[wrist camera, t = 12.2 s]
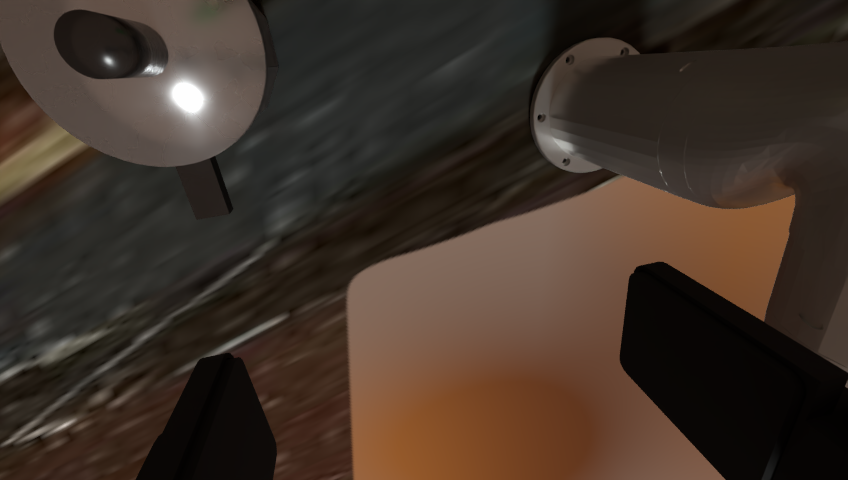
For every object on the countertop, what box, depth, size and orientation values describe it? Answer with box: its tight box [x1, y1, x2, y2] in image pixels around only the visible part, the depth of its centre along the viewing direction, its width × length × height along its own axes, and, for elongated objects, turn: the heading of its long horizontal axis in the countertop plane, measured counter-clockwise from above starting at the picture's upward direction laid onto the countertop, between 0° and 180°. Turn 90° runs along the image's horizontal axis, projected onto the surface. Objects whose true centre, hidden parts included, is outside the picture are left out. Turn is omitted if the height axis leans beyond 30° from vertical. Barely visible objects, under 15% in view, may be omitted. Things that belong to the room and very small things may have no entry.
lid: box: [0, 0, 268, 167], centre depth 21 cm, size 14×14×6 cm
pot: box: [176, 0, 279, 220], centre depth 28 cm, size 23×13×8 cm, turn 7°
